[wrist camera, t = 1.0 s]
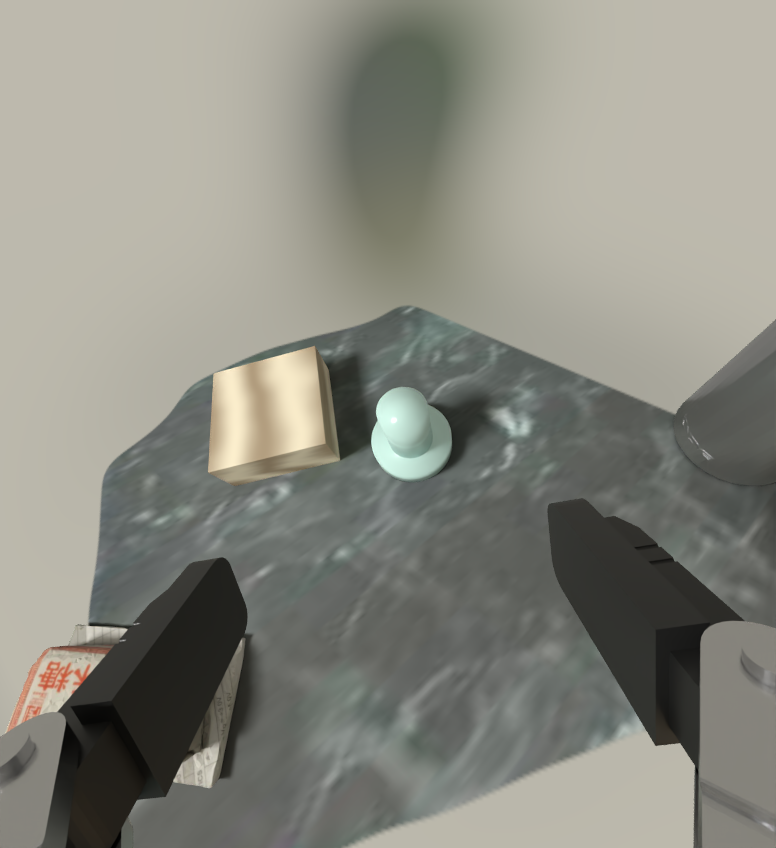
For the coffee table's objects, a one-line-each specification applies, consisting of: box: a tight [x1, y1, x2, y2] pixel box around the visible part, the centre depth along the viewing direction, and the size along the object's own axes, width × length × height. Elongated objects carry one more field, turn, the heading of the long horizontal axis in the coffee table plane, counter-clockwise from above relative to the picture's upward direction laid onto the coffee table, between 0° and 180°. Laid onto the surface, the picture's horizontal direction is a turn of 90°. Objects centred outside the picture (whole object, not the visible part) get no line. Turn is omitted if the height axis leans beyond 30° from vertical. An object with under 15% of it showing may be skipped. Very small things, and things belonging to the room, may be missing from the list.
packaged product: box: [6, 625, 246, 788], centre depth 30 cm, size 18×5×10 cm
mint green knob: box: [371, 387, 452, 482], centre depth 34 cm, size 8×8×8 cm
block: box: [208, 346, 340, 486], centre depth 40 cm, size 12×12×5 cm
